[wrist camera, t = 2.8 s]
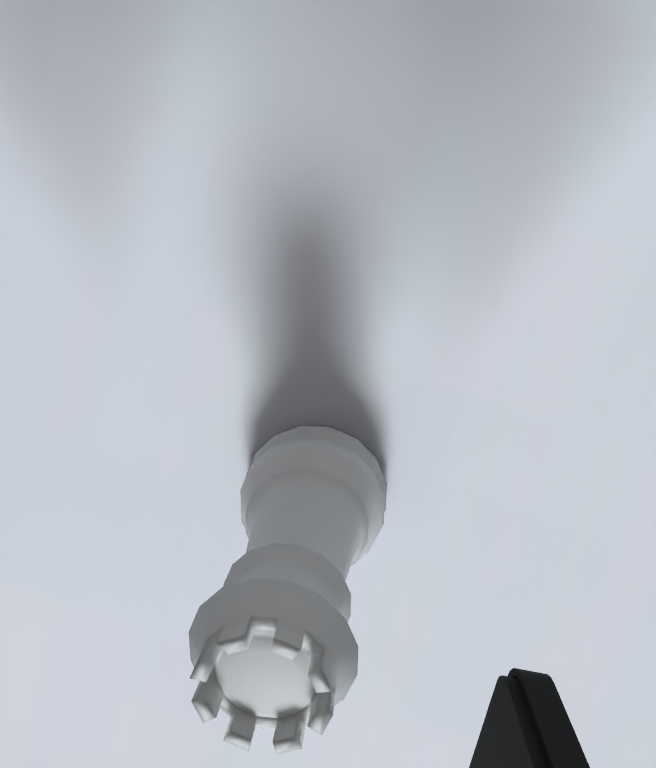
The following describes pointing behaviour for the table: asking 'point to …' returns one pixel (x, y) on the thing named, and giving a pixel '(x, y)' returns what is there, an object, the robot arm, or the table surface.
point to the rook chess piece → (289, 589)
